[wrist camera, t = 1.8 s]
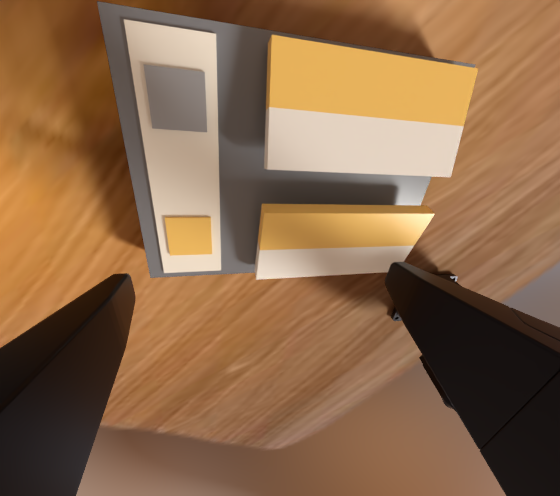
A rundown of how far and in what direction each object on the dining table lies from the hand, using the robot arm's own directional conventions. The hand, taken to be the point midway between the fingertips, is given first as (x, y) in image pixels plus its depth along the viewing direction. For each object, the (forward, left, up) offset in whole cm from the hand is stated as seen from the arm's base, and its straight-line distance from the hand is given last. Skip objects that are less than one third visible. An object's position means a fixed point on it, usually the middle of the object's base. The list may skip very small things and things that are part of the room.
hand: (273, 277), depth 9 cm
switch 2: (-3, -7, -9) cm, 11 cm away
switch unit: (+1, -4, -13) cm, 13 cm away
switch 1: (+5, -7, -9) cm, 12 cm away
